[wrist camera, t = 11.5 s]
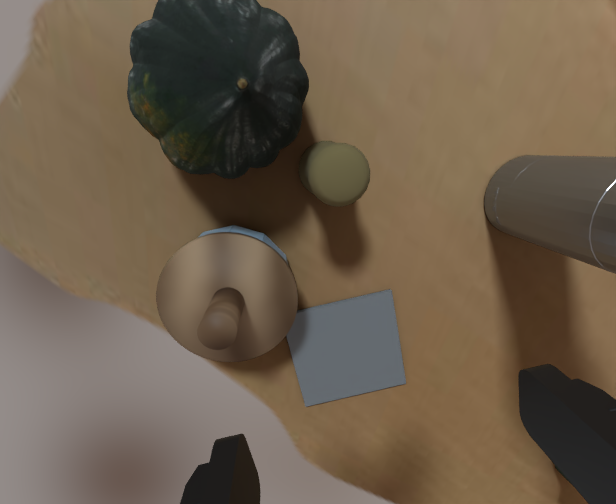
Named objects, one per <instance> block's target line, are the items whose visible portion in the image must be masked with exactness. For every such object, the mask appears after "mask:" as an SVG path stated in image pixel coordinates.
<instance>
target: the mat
mask: <svg viewBox="0 0 616 504" xmlns="http://www.w3.org/2000/svg"><path fill="white" fill-rule="evenodd" d="M286 337H287V341H288V344H289V348H290V352H291V355H292V359H293V363H294V366H295V370H296V374H297V377H298V381H299V385H300V388H301V392H302V395H303V399H304V403H305V406H306V407H307V406H311V405H315V404H320V403H324V402H328V401H333V400H337V399H341V398H346V397H350V396H354V395H359V394H363V393H367V392H372V391H376V390H380V389H385V388H389V387H393V386H398V385H402V384H406V380H405V373H404V367H403V360H402V354H401V347H400V341H399V335H398V328H397V322H396V315H395V309H394V302H393V296H392V291H391V290H390V289H389V290H385V291H380V292H376V293H372V294H367V295H363V296H359V297H354V298H350V299H346V300H341V301H337V302H333V303H328V304H324V305H320V306H315V307H311V308H307V309H302V310H298V311H297V313H296V317H295V320H294V322H293V325H292V327H291V329H290V330H289V332H288V334H287V335H286Z"/></svg>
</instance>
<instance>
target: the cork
mask: <svg viewBox="0 0 616 504" xmlns="http://www.w3.org/2000/svg"><path fill="white" fill-rule="evenodd" d="M299 176H300V179H301V182H302V184H303V185H304V186H305V188H306V189H307V190H308V191H310V192H311V193H312V194H314V195H315V196H316V197H317V198H318V199H319V200H321V201H322V202H323V203H325V204H328V205H331V206H346V205H349V204H352V203H354V202H355V201H356V200H358V199H359V198H361V196H362V195H363V194H364V192H365V191H366V189H367V187H368V184H369V181H370V168H369V164H368V161H367V159H366V158H365V156H364V154H363V153H362V152H361V151H360V150H358V149H357V148H356V147H355V146H352V145H349V144H346V143H335V142H332V141H321V142H318V143H315V144H313V145H312V146H310V147H309V148H308V149H306V151H305V152H304V154H303V155H302V157H301V160H300V163H299Z"/></svg>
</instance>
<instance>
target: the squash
mask: <svg viewBox="0 0 616 504" xmlns="http://www.w3.org/2000/svg"><path fill="white" fill-rule="evenodd" d="M130 55H131V59H132V62H133V68H132V69H131V71H130V73H129V76H128V91H127V95H128V101H129V105H130V110H131V112H132V114H133V115H134V117H135V118H136V119H137V120H138V121H139V123H140V124H141V125H142V126H143V127H144V128H145V129H146V130H147V131H148V132H149V133H150V134H151V135H152V136H154V137H155V138H157V139H158V140H159V142H160V145H161V147H162V150H163V152H164V154H165V155H166V157H167V158H168V159H169V161H170V162H171V163H172V164H173V165H174V166H176V167H177V168H179V169H182V170H184V171H186V172H188V173H191V174H210V173H215V174H217V175H219V176H221V177H223V178H228V179H235V178H238V177H240V176H242V175H243V174H245V173H246V172H247V170H248V169H249V168H250V167H252V168H260V167H266V166H268V165H270V164H271V163H272V162H273V161H274V160H275V159H276V157H277V155H278V153H279V150H280V149H282V148H284V147H286V146H288V145H289V144H290V143H291V142H292V141H294V140H295V138H296V137H297V134H298V132H299V130H300V127H301V121H302V105H303V103H304V101H305V98H306V95H307V92H308V89H309V80H308V76H307V73H306V71H305V69H304V67H303V66H302V64H301V63H300V61H299V59H300V52H299V45H298V40H297V37H296V36H295V34H294V32H293V30H292V27H291V26H290V24H289V22H288V21H287V20H286V19H285V18H284V17H283V16H281V15H280V14H279V13H277V12H275V11H273V10H271V9H269V8H264V7H261V6H260V4H259V3H258V2H257V1H256V0H158V2H157V4H156V7H155V10H154V13H153V17H152V19H151V20H148V21H145V22H143V23H141V24H139V25H138V26H136V28H135V29H134V30H133V32H132V35H131V41H130Z"/></svg>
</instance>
